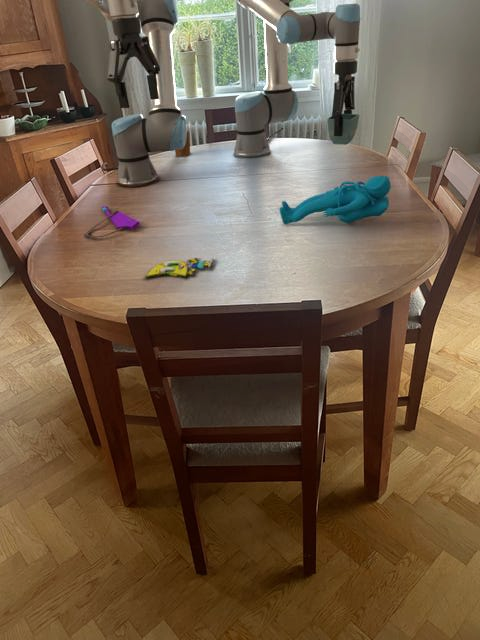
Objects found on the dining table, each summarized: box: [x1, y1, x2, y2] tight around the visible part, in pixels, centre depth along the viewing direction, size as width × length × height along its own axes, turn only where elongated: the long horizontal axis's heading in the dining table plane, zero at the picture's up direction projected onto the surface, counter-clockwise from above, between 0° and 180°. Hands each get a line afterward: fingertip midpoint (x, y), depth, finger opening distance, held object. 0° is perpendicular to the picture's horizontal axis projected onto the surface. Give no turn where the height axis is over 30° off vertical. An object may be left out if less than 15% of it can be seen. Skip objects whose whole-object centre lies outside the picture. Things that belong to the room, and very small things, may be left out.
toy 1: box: [145, 257, 214, 279], centre depth 117 cm, size 10×1×15 cm
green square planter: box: [327, 113, 360, 146], centre depth 168 cm, size 9×9×9 cm
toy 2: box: [278, 175, 392, 225], centre depth 133 cm, size 17×11×30 cm
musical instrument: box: [85, 205, 141, 239], centre depth 147 cm, size 24×2×20 cm
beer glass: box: [174, 123, 191, 157], centre depth 210 cm, size 10×10×12 cm
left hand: (140, 103), depth 140 cm, fingers open, 13 cm apart
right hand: (342, 132), depth 169 cm, fingers closed on green square planter, 9 cm apart
